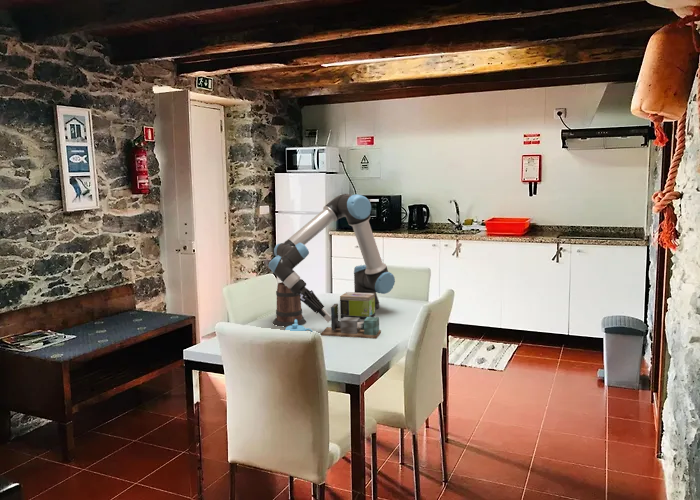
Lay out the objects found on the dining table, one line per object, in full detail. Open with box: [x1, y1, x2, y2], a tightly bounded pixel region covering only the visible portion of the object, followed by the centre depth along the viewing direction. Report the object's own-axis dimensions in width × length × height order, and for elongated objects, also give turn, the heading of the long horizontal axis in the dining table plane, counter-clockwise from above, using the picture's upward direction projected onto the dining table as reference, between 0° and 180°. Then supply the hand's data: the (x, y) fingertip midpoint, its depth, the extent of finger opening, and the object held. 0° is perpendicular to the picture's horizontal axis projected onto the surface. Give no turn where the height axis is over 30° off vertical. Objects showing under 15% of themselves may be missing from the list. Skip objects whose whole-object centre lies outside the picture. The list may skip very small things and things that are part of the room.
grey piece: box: [330, 303, 364, 331], centre depth 271 cm, size 17×6×11 cm, turn 76°
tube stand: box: [320, 316, 382, 339], centre depth 271 cm, size 26×10×8 cm, turn 76°
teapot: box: [284, 319, 314, 333], centre depth 249 cm, size 15×14×11 cm
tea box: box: [339, 291, 376, 322], centre depth 287 cm, size 15×10×15 cm
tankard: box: [272, 281, 307, 328], centre depth 295 cm, size 24×17×20 cm
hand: (330, 320), depth 273 cm, fingers closed
